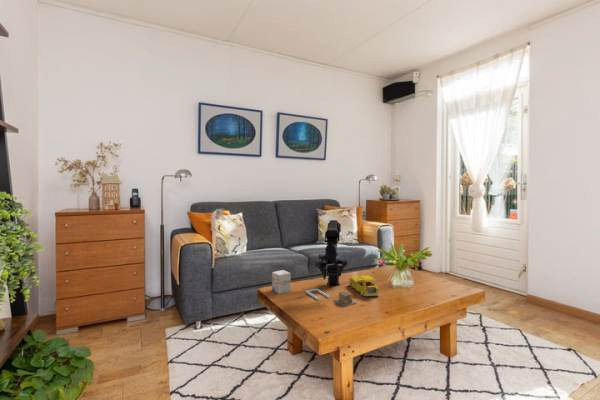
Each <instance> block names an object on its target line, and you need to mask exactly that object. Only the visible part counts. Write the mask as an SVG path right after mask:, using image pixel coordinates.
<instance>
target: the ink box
mask: <svg viewBox="0 0 600 400" xmlns="http://www.w3.org/2000/svg"><path fill="white" fill-rule="evenodd" d="M291 274H292V273H291V272H288V271H286V270H285V269H282V270H276V271H272V273H271V284H272V285H271V291H272V292H274V293H277V294H279V295H282V294H285V293H289V292H291V285H292V284H291V278H292V276H291Z"/></svg>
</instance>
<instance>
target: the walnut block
mask: <svg viewBox="0 0 600 400" xmlns="http://www.w3.org/2000/svg"><path fill="white" fill-rule="evenodd" d="M338 299H339V301H341V302H343V303H344V304H348V303H352V300H353V294H352V293H350V292H348V291H346V290H345V291H340V292H338Z"/></svg>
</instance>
